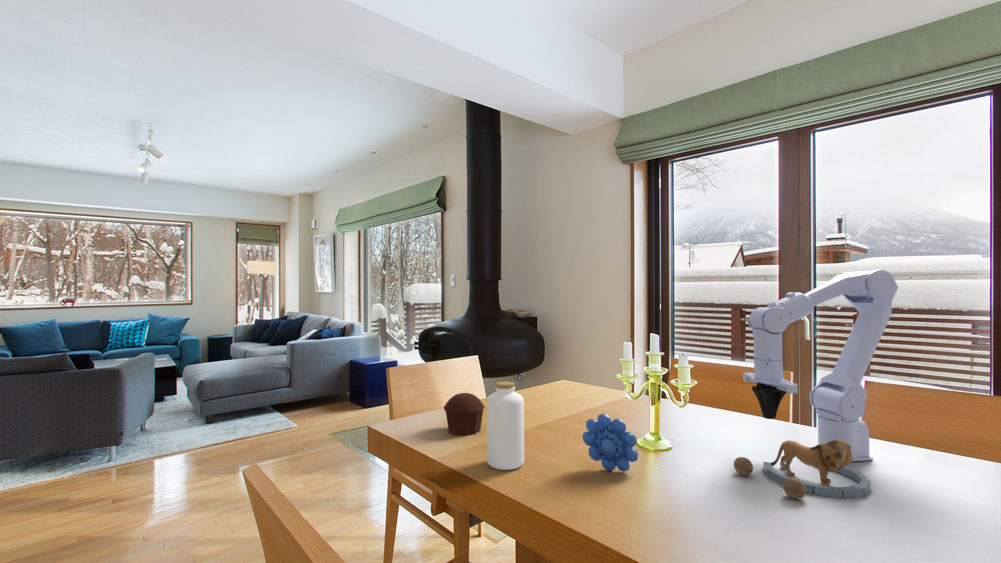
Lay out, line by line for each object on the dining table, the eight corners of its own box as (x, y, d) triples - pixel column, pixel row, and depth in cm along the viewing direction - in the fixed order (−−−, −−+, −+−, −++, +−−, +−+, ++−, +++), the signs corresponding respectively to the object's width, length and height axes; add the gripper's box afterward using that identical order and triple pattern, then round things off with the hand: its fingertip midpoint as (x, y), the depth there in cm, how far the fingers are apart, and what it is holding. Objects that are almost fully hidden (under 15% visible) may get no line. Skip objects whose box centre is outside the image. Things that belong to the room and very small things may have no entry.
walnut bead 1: (745, 470, 96) (744, 453, 96) (757, 477, 92) (757, 460, 92) (729, 472, 95) (729, 454, 95) (741, 479, 92) (741, 461, 92)
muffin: (449, 423, 131) (449, 389, 131) (487, 425, 129) (487, 390, 130) (438, 436, 119) (438, 398, 119) (480, 438, 118) (479, 400, 118)
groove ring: (824, 464, 100) (824, 457, 100) (893, 493, 85) (893, 485, 85) (754, 469, 97) (753, 462, 97) (813, 501, 82) (812, 492, 82)
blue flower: (579, 474, 94) (578, 417, 94) (584, 463, 100) (584, 409, 101) (637, 482, 90) (636, 422, 90) (638, 470, 97) (638, 413, 97)
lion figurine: (855, 485, 89) (854, 439, 89) (850, 493, 85) (849, 445, 85) (772, 464, 100) (771, 423, 100) (764, 471, 96) (763, 428, 96)
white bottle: (531, 464, 100) (531, 382, 100) (506, 475, 94) (506, 388, 94) (504, 454, 106) (504, 378, 106) (478, 464, 100) (478, 383, 100)
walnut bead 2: (795, 492, 85) (794, 473, 85) (811, 501, 82) (810, 481, 82) (778, 494, 85) (777, 475, 85) (793, 503, 81) (793, 483, 81)
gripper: (731, 355, 111) (732, 410, 111) (776, 364, 97) (778, 428, 96) (757, 354, 112) (758, 409, 112) (805, 363, 98) (807, 426, 97)
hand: (769, 418), depth 104 cm, fingers closed
